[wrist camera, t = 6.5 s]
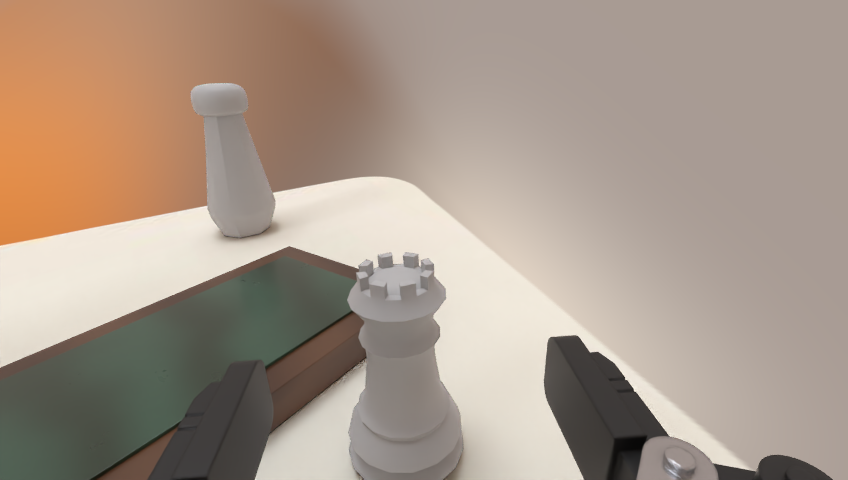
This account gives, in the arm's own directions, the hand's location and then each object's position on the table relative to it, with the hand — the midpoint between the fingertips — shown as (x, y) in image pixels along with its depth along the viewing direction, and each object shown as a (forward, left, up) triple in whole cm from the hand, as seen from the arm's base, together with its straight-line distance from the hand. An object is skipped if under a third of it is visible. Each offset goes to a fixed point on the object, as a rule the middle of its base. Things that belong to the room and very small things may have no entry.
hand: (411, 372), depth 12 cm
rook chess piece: (+2, +2, -6) cm, 7 cm away
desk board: (0, +13, -6) cm, 15 cm away
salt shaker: (+13, +30, -6) cm, 33 cm away
